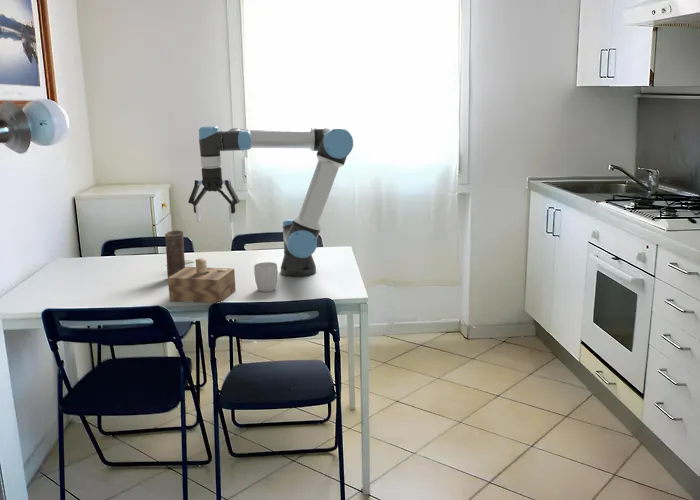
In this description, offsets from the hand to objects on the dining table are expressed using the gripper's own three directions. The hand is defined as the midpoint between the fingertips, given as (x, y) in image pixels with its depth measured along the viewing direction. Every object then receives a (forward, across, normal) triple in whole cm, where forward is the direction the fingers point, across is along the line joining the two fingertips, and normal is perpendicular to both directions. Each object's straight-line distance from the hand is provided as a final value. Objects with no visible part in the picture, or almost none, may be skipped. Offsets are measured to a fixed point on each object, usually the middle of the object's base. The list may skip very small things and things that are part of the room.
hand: (215, 221), depth 265 cm
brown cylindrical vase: (+27, +22, -8) cm, 36 cm away
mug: (+27, -20, 0) cm, 33 cm away
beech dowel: (+21, +2, +13) cm, 25 cm away
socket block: (+26, +2, +13) cm, 30 cm away
